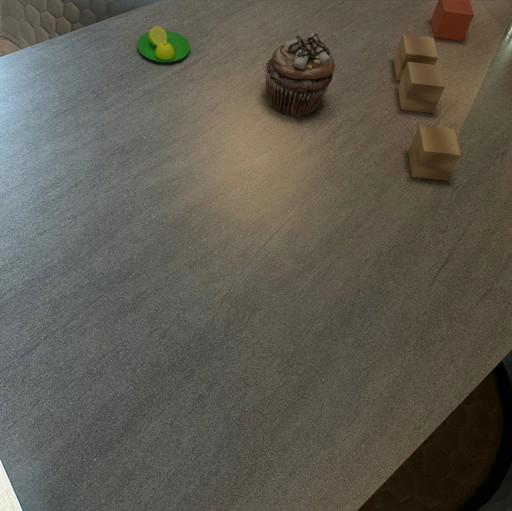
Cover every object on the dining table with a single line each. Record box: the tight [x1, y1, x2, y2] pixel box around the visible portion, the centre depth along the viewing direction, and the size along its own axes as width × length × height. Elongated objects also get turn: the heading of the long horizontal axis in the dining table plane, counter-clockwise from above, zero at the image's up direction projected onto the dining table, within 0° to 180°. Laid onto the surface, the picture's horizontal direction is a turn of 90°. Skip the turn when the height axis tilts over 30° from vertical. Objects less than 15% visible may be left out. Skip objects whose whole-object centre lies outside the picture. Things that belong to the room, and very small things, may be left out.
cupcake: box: [264, 32, 336, 117], centre depth 89 cm, size 10×10×10 cm
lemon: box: [136, 25, 191, 63], centre depth 95 cm, size 8×8×3 cm
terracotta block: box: [430, 0, 475, 42], centre depth 107 cm, size 5×5×5 cm
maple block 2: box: [397, 62, 446, 114], centre depth 94 cm, size 5×5×5 cm
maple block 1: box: [392, 33, 439, 82], centre depth 98 cm, size 5×5×5 cm
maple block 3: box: [407, 124, 461, 182], centre depth 86 cm, size 5×5×5 cm
